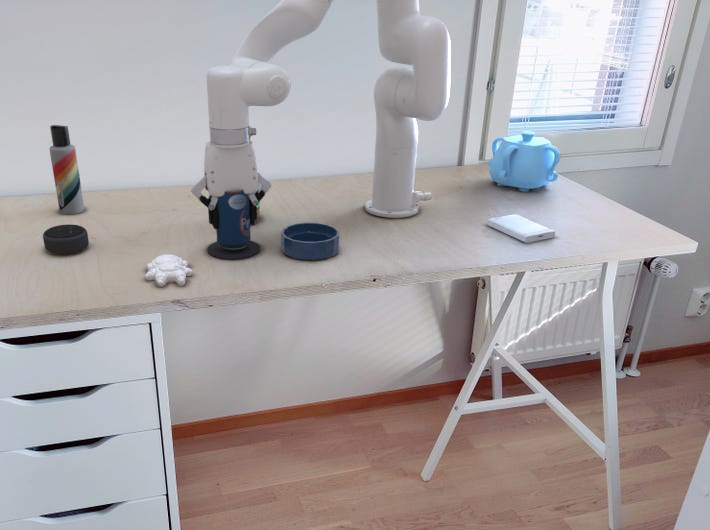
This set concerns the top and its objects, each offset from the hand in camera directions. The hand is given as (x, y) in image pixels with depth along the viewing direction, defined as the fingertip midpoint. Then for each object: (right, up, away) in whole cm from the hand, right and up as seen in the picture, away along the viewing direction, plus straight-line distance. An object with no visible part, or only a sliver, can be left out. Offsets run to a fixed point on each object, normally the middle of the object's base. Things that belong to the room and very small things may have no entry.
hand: (233, 224), depth 145 cm
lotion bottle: (-40, +8, +25) cm, 48 cm away
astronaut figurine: (-12, -12, -8) cm, 18 cm away
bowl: (+16, -5, +2) cm, 17 cm away
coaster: (0, -5, +3) cm, 6 cm away
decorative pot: (+72, +19, +43) cm, 86 cm away
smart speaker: (-35, -5, +3) cm, 35 cm away
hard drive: (+62, +1, +12) cm, 64 cm away
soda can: (0, -4, +2) cm, 5 cm away
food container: (+3, +4, +19) cm, 20 cm away
